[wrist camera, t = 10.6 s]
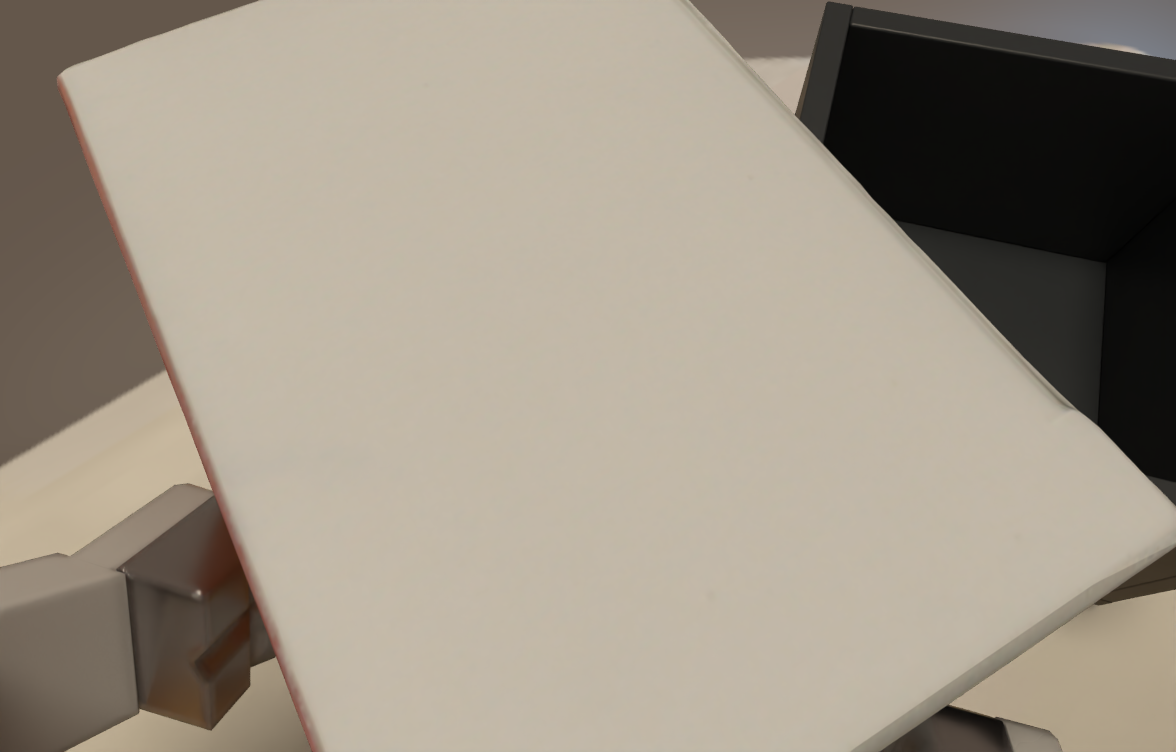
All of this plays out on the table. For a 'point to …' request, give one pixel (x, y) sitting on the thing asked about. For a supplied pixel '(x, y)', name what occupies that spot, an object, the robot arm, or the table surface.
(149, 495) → the table surface
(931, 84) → the trash bin
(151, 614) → the robot arm
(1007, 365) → the small box
